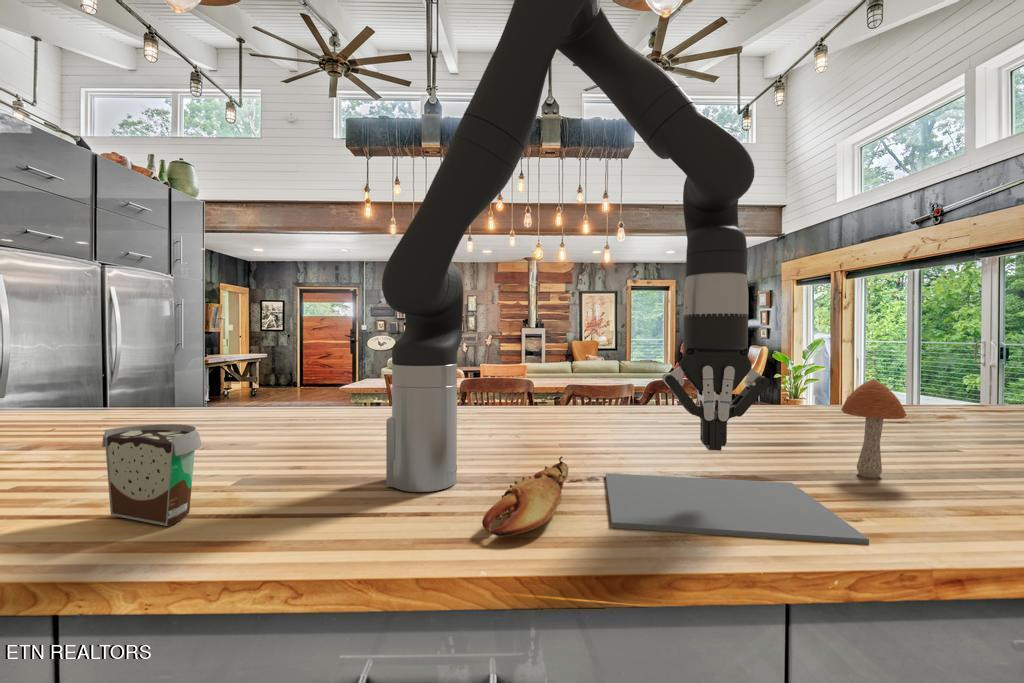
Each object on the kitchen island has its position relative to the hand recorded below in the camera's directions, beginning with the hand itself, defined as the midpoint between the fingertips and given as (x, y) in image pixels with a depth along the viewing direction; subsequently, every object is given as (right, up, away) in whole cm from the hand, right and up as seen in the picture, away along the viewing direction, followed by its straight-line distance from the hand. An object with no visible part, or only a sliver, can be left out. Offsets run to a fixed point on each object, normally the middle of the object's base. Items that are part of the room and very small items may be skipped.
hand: (713, 448), depth 61 cm
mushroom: (+29, -7, +12) cm, 32 cm away
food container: (-67, -7, -3) cm, 68 cm away
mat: (0, -7, 0) cm, 7 cm away
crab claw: (-18, -4, +6) cm, 19 cm away
